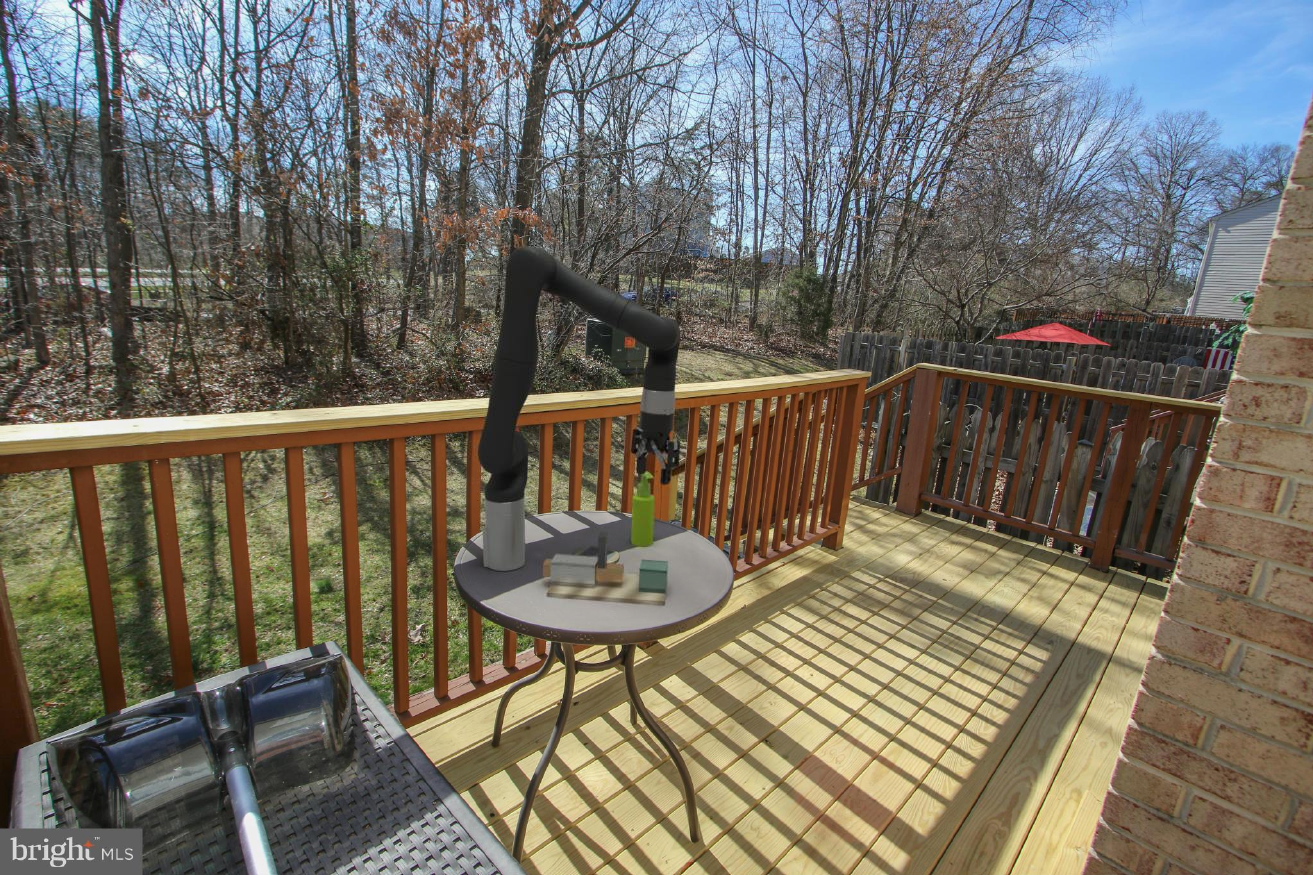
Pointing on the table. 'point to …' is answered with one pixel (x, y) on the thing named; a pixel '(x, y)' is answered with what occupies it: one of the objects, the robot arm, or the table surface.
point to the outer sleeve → (573, 570)
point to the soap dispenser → (643, 513)
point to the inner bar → (598, 564)
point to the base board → (610, 592)
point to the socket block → (653, 576)
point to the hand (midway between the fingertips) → (652, 478)
